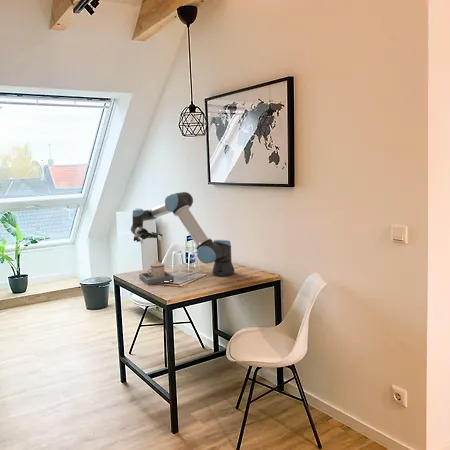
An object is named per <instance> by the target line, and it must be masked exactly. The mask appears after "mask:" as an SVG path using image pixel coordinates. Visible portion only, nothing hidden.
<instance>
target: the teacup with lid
mask: <svg viewBox="0 0 450 450" xmlns="http://www.w3.org/2000/svg"><path fill="white" fill-rule="evenodd" d="M165 271H166V270H165V263H163V262H160V261H159V260H155V262H154V263H151V264H150V268H149V269H148V270H147V273H148V275H149V276H152V279H154V278H161V277H165ZM149 272H151V275H150V274H149Z"/></svg>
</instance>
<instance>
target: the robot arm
mask: <svg viewBox="0 0 450 450" xmlns="http://www.w3.org/2000/svg"><path fill="white" fill-rule="evenodd" d="M193 204H194V198H193V196H192V194H190V193H189V192H186V191H183V192H182V191H181V192H172V193H169V194H168V195H167V196H166V197H165V199H164V203H163V204H160V205H158V206H155V207H153V208H150V209H147V210H145V209H143V208H140V207H138V208H133V209H132V225H131V226H130V231H131V233H132V234H133V235H134V236H133V242H137V243H140V244H143V243H144V240H147V239H151V238H152V239H157V240H159V241H160V242H163V234H162V233H157V232H155V231H154V232H153V231H151V232H149V231H148V230H147V229H146V228H144V221H152V220H156V219H158V218H159V217H163V216H165V215H168V214H170V213H172V214H173V215H174V216H175V217H178V219H179V220H180V222H181V224H182V226H183V227H185V230H186V231H187V232H188V235H190V237H191V239H192V240H193V242H194V243H195V244H196V248H195V249H196V256H197V258H198V260H199V261H200V262H201V263H203V264H212V263H213V267H212V270H211V271H212V272H211V273H212V275H213V276H215V277H228V276H233V275H234V274H235V273H236V272H235V268H234V265H233V263H232V244H231V240H227V239H212V238H208V236H207V235H206V233H205V231H204V230H203V229H202V227H201V226H200V224H199V222H198V221H197V219H196V218H195V217H194V215H193V213H192V212H191V210H190V208H191V207H192V205H193Z"/></svg>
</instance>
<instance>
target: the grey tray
mask: <svg viewBox="0 0 450 450" xmlns="http://www.w3.org/2000/svg"><path fill="white" fill-rule="evenodd" d="M164 271H165V277H161V278H154V279H152V276H149V275H148V272H143V273H139V275H138V276H139V280H140V281H141V282H143V284H145V285H147V286H152V285H159V284H162V283H161V282H164V281H170V280H174V275H172V274H170V273H169V272H167V271H166V270H164ZM149 274H150V275H151V271H149Z"/></svg>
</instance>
